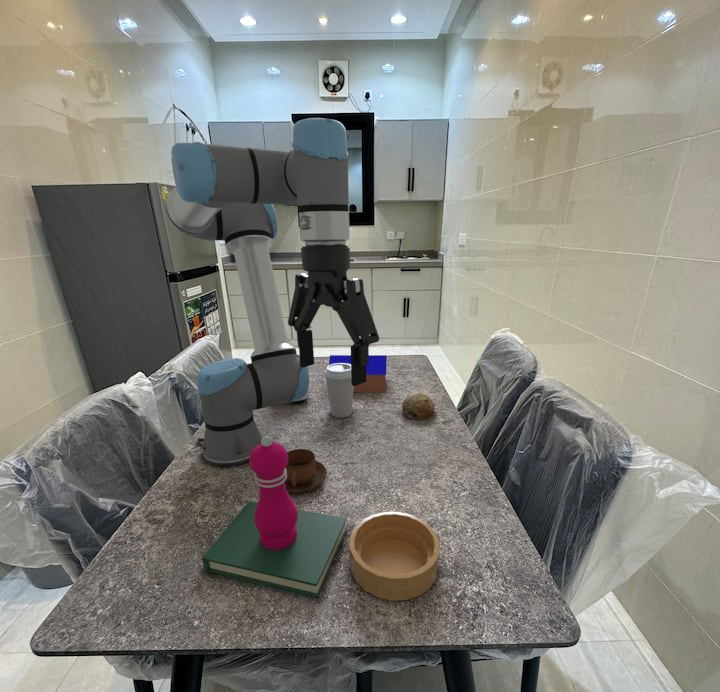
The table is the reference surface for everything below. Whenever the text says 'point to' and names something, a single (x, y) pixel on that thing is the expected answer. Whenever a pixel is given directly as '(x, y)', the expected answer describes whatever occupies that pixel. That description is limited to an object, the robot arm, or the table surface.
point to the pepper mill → (273, 495)
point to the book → (278, 552)
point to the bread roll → (418, 406)
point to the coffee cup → (339, 389)
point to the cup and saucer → (303, 471)
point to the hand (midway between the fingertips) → (331, 374)
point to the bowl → (394, 555)
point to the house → (367, 372)
